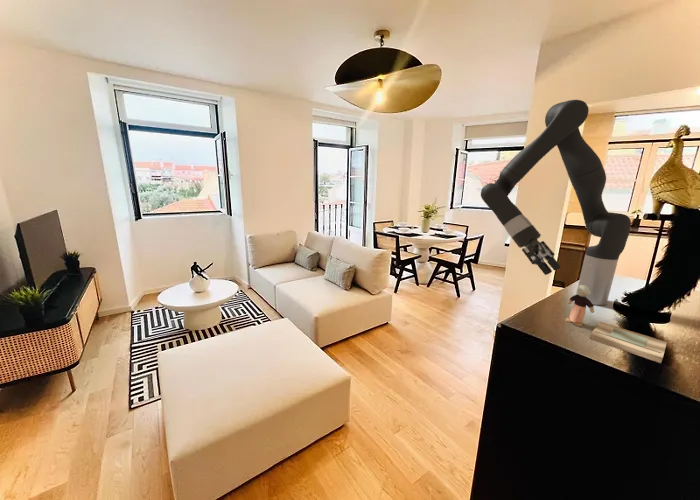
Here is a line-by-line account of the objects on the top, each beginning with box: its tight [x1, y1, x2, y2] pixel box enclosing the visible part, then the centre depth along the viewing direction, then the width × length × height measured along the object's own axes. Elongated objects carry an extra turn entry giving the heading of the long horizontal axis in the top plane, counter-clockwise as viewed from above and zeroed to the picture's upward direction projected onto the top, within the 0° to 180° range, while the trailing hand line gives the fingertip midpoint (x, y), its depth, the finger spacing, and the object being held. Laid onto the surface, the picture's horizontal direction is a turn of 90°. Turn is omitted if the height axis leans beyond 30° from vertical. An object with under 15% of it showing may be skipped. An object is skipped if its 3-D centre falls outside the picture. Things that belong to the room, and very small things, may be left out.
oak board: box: [589, 321, 668, 364], centre depth 79 cm, size 12×14×2 cm
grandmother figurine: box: [564, 285, 595, 327], centre depth 88 cm, size 8×4×13 cm, turn 27°
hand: (553, 271), depth 92 cm, fingers open, 8 cm apart
